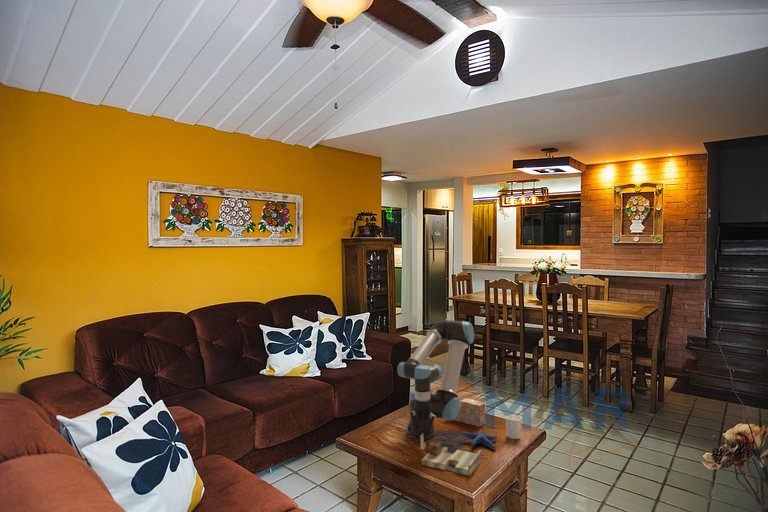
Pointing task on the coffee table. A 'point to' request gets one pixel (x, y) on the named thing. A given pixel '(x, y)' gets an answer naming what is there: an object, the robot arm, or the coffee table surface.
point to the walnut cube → (434, 448)
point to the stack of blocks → (471, 412)
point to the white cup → (513, 426)
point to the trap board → (454, 461)
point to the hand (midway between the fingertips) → (423, 448)
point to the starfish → (481, 439)
